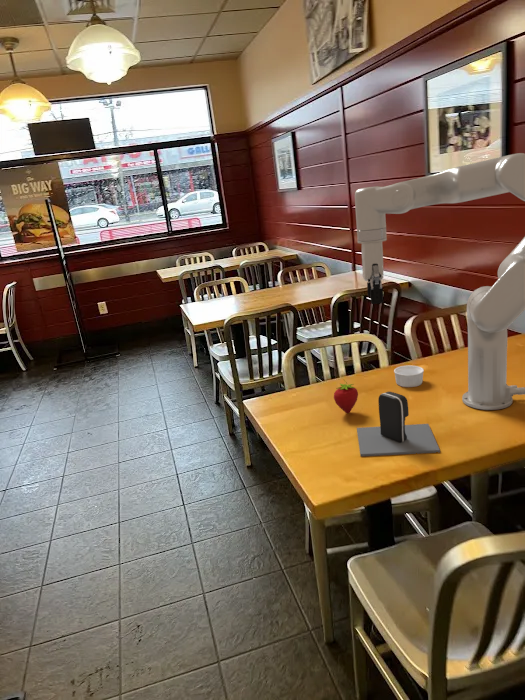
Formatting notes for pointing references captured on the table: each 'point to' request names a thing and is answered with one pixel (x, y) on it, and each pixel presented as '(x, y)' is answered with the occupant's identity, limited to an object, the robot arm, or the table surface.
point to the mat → (378, 444)
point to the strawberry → (346, 397)
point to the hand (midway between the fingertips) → (375, 299)
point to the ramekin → (409, 376)
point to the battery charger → (393, 415)
